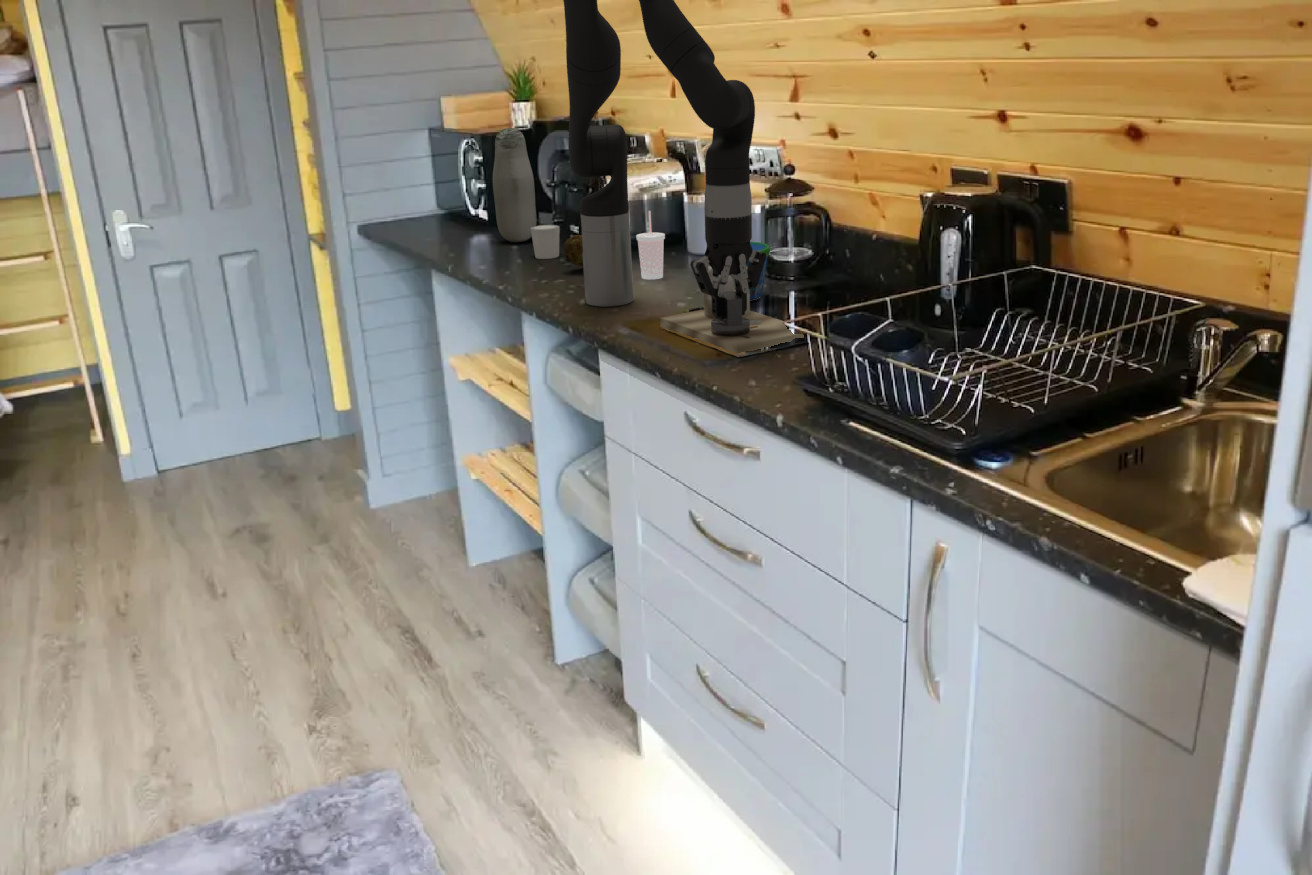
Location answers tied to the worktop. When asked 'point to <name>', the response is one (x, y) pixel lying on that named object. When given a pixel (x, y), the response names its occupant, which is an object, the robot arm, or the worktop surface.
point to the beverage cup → (651, 253)
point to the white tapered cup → (545, 241)
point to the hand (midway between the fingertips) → (729, 316)
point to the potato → (574, 250)
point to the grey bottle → (513, 186)
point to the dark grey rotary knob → (732, 317)
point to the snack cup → (764, 248)
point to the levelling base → (756, 338)
